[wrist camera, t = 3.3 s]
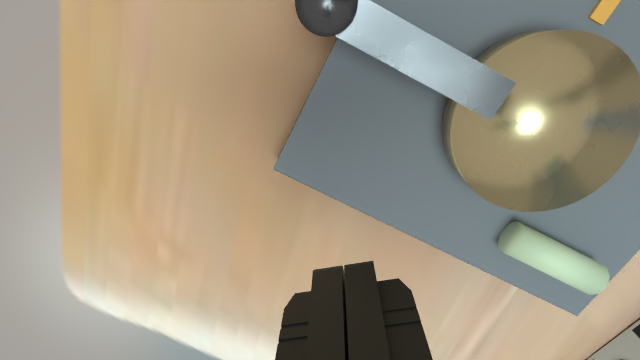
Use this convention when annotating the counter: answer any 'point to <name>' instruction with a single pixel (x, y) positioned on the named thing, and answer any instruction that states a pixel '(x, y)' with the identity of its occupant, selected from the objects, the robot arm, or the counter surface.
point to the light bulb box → (622, 346)
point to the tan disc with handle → (510, 102)
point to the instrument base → (435, 167)
